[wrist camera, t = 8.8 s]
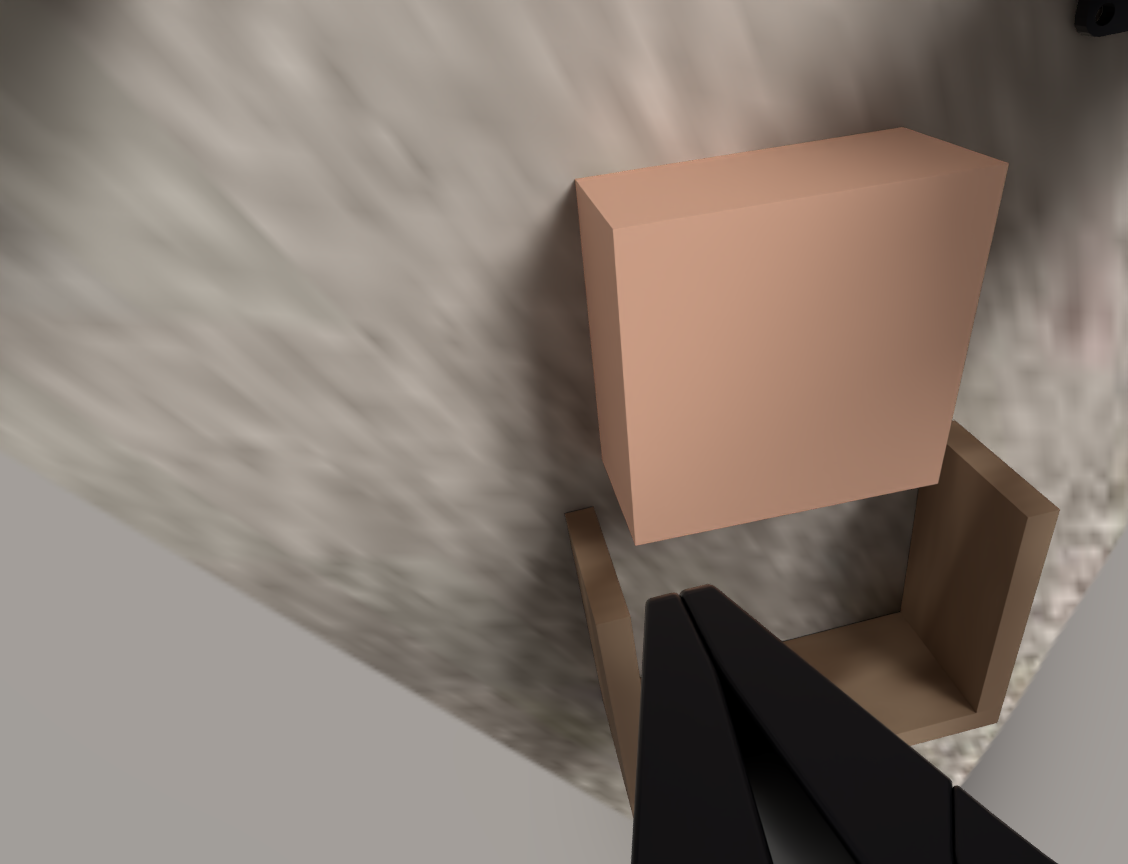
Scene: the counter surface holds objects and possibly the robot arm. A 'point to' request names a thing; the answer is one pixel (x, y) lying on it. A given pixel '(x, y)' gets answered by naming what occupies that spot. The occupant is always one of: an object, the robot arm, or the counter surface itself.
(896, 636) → the walnut stall
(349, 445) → the counter surface
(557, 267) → the counter surface
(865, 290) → the terracotta block
